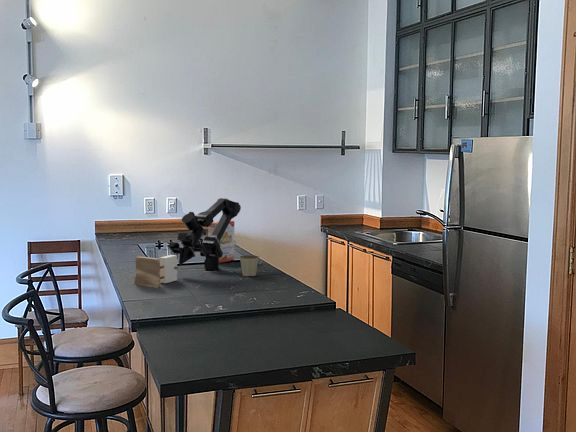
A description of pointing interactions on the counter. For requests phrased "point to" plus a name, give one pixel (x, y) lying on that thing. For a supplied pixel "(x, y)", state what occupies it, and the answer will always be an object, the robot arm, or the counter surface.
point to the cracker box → (225, 241)
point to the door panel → (168, 268)
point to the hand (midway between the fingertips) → (179, 264)
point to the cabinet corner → (148, 272)
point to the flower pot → (249, 264)
